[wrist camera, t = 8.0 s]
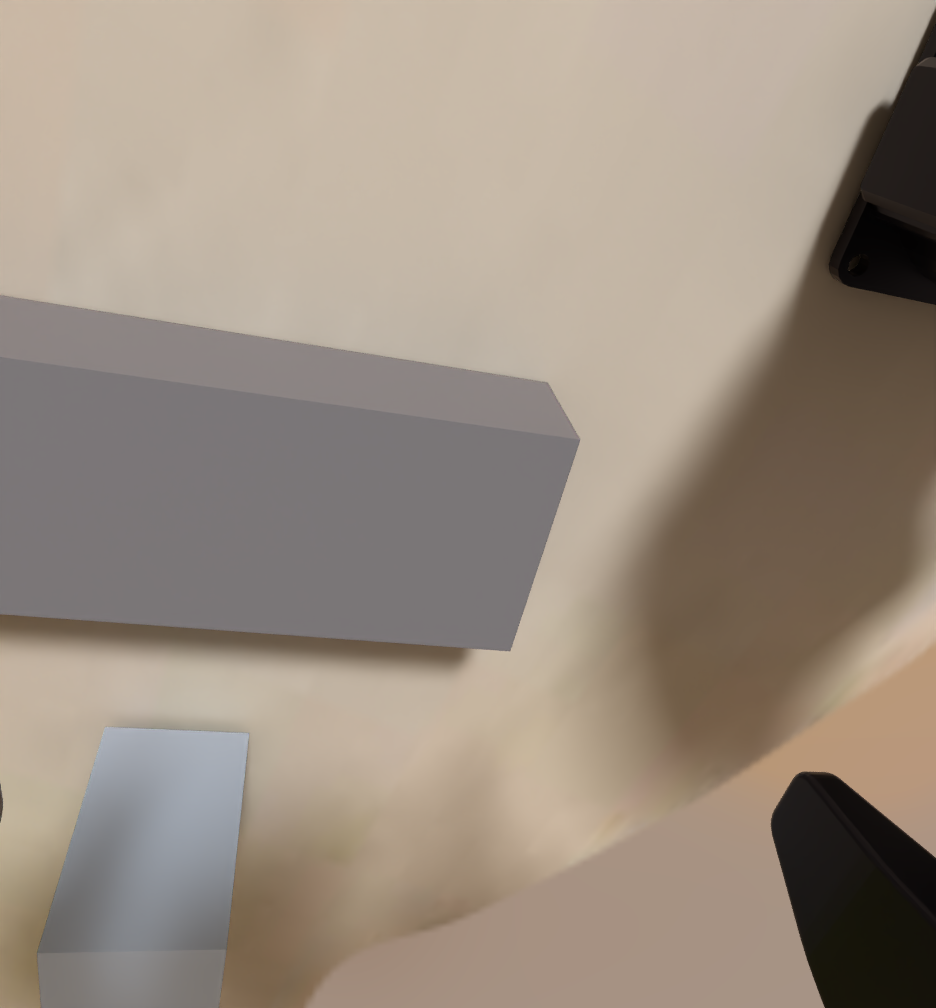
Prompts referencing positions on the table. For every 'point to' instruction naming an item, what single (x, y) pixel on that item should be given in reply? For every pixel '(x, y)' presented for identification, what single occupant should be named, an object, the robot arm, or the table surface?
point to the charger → (148, 874)
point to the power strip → (267, 483)
